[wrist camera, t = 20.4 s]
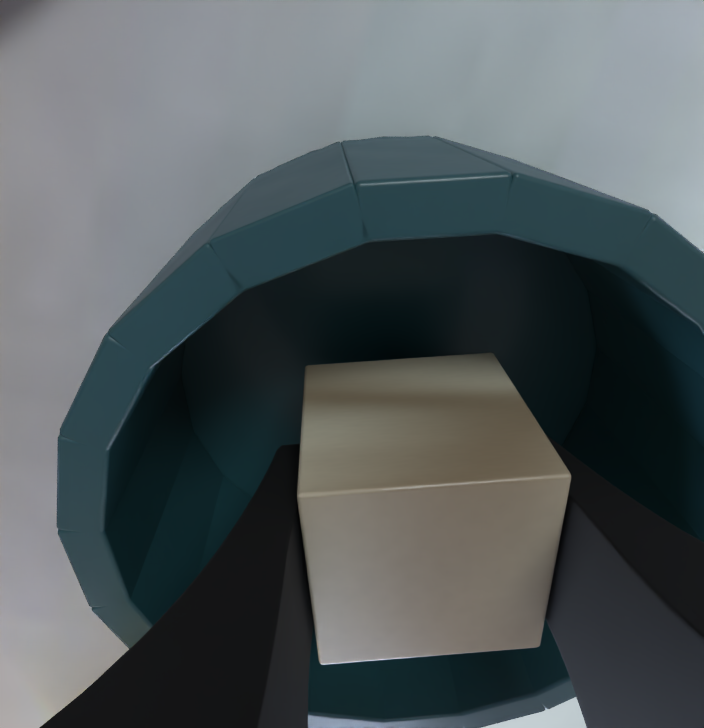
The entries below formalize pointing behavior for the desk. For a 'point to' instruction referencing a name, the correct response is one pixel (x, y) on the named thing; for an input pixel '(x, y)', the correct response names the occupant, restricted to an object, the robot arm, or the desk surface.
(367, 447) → the block
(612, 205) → the tin
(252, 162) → the desk surface
